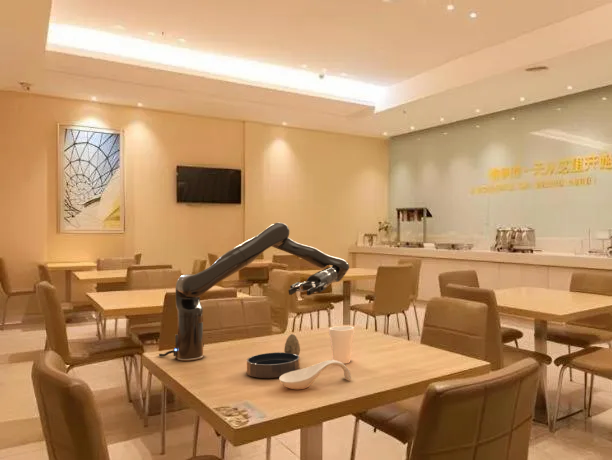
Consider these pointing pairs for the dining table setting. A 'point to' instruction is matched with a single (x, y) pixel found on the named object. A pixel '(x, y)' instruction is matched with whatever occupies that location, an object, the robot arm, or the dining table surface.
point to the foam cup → (341, 342)
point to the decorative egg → (292, 345)
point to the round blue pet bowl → (272, 364)
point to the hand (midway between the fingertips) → (298, 292)
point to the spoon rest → (309, 375)
